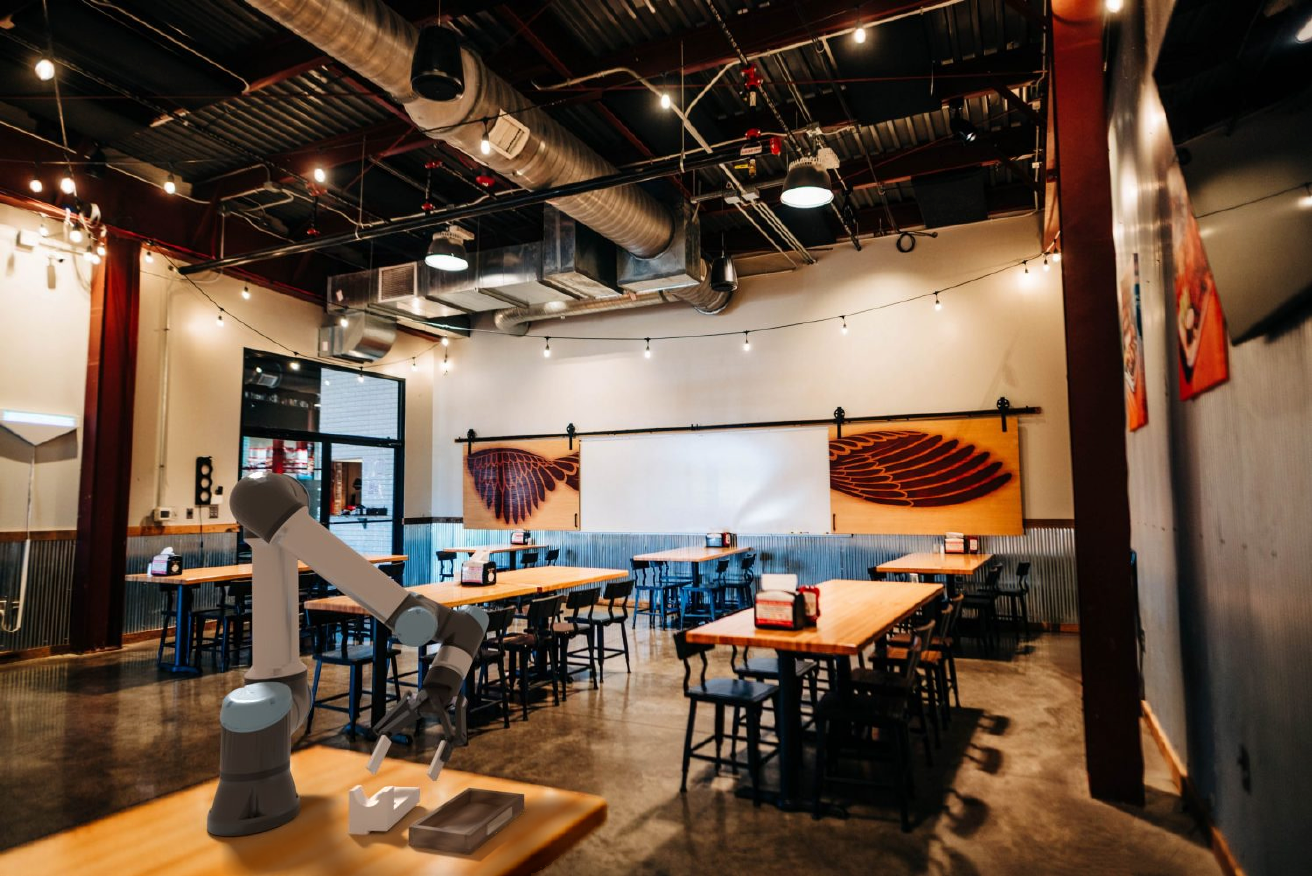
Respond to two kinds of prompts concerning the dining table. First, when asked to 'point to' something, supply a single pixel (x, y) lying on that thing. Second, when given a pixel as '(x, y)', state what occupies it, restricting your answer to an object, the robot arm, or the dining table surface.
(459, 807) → the walnut tray
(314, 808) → the dining table surface
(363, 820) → the bracket
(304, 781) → the dining table surface
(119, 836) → the dining table surface
